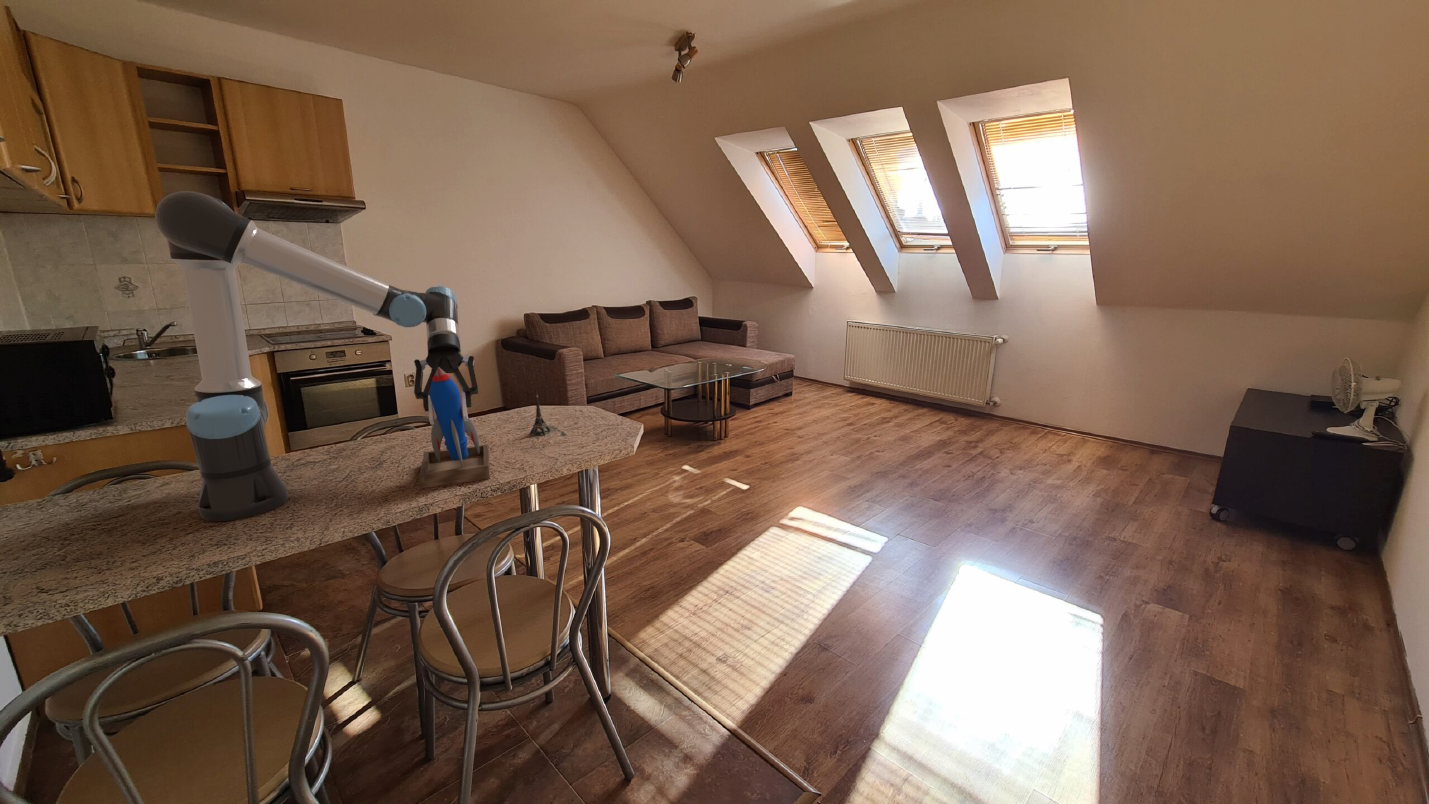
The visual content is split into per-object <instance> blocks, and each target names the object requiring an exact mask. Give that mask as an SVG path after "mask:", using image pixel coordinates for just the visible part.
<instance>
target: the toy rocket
mask: <svg viewBox="0 0 1429 804" xmlns="http://www.w3.org/2000/svg"><path fill="white" fill-rule="evenodd" d="M430 399H431V402H432V405H433V409H434V412H435V413H434V414H435V415H436V417H435V419H434V425H432V426H431V427H432V428H431V433H430V434H431V436H430V439H431V440H430V441H431V446H432V449H433V450H432V451H434V453H435V455H436V458H437V460H438V462H439V463H440V450H441V446H442V441H443V439H444V442H443V444H444V445H445V448H446V449H447V450H449V454H450V457H451V460H455V461H457V460H460V462H461V465H462V468H463V462H462V459H465V458H466V457H468V451H467V447H468V437H469V438H470V440H471V441H472V443H473V446H475V447H476V449H477V452H478V454H479V453H480V452H479V445H480V442H479V435H478V431H477V429H476V427H475V425H474V423H473V421H472V420H471V419H470V417H468V421H464V416H463V405H462V397H461V392H460V389H459V387H458V386H457V384H456V383H455V381H454V380H453V379H452V378H451V376H450V375H449V374H448V373H445V372H444V371H443V370H442V369H441V368H440V367H438V368H437V370H436V373H435V375H434V377H433V379H432V384H431V387H430ZM466 435H467V436H468V437H467V436H466Z"/></svg>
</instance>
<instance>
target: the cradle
mask: <svg viewBox="0 0 1429 804" xmlns="http://www.w3.org/2000/svg"><path fill="white" fill-rule="evenodd" d="M467 451H468V457H466V458H465V459H462V462H463V468H462V465H461V462H460V460H457V461H455V460H451V457H450V454H449V450H447V448H446V449H440V463H439V462H438V460H437V458H436V455H435V453H434V450H429V451H424V453H423V457H422V461H421V465H420V470H419V473H418V477H419V484H420V489H427V488H433V487H434V488H435V487H440V486H447V485H453V484H454V485H455V484H462V482H463V483H468V482H469V483H470V482H475V481H483V480H489V479H491V475H490V474H491V473H490V472H491V471H490V455H489V446H488V443H486V444H479V452H480V453H479V454H478V452H477V449H476V447H475V445H471V446H467Z"/></svg>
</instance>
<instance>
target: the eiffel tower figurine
mask: <svg viewBox="0 0 1429 804" xmlns="http://www.w3.org/2000/svg"><path fill="white" fill-rule="evenodd" d="M535 398H536V399H535V400H536V403H535V405H536V410H535V411H536V412H535V413H536V415H535V421H534V424H532V428H531V430H530V432H529V434H528V436H535V437H536V436H539V437H546V436H547V435H549V434H550V432H560V433H561V434H560V435H559V436H561V437H566V436H568V434H567V433H565V432H564V431H562V430H560V429H558V428H557V427H555V426H553V425H548V424H547V422H546V421H545V420H544V418H543V415H542V413H541V412H542V411H541V408H540V403H539V395H538V393H537V391H536V395H535ZM528 428H529V426H528V427H522V428H518V429H517V430H518V431H522V430H525V429H528Z"/></svg>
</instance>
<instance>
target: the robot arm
mask: <svg viewBox="0 0 1429 804" xmlns="http://www.w3.org/2000/svg"><path fill="white" fill-rule="evenodd" d="M154 215H155V222H156V227H157V228H158V230H159V232H160V233H161V234H162V235H163V236H164V238H166V239H167V245H168V252H169V255H170V260H171V261H172V262H173V263H175V264H176V265H178V266H179V267H180V268H181V269H182V275H183V279H184V285H185V290H186V297H187V301H188V302H187V303H188V307H189V313H190V319H191V324H192V330H193V336H194V340H195V347H196V352H197V356H198V357H197V359H198V364H199V369H200V375H201V380H200V382H199V383H198V384H197V385H195V387H194V393H195V399H196V402H195V403H192V405H190V406H189V407H188V408H187V410H186V412H185V419H186V420H185V425H186V427H187V430H188V431H189V435H190V438H191V443H192V445H193V450H194V453H195V458H196V461H197V465H198V469H199V471H200V476H201V480H202V481H201V487H200V492H199V498H198V504H197V505H198V512H199V515H200V518H201V519H202V520H204V521H207V522H230V521H237V520H241V519H247V518H251V517H255V516H258V515H261V514H265V513H268V512H269V511H272V510H274V509H277V508H279V506H282V505H283V504H284V503H286V502H287V501H288V499H289V490H288V487H287V485H286V483H285V482H284V481H283V479H282V478H281V477H280V476H279V474H278V472H277V471H276V469H275V468H274V466H273V465H272V462H271V457H270V452H269V447H268V443H267V440H266V439H267V438H266V435H265V433H266V431H265V430H266V429H265V428H266V425H267V422H268V418H269V409H268V406H267V404H266V401H265V399H264V393H263V384H262V382H261V381H260V380H259V379H257V378H256V377H254V376H253V375H252V369H251V363H250V355H249V350H248V344H247V343H248V342H247V336H246V331H245V325H244V318H243V312H242V306H241V298H240V292H239V286H238V281H237V280H238V279H237V272H236V269H237V267H239V266H240V265H241V264H242V263H243V264H246V265H248V266H250V267H253V268H256V269H259V270H261V271H262V272H263V271H264V272H266V273H268V274H271V275H274V276H275V277H279V278H281V279H283V280H286V281H290V282H291V283H293V284H296V285H299V286H302V287H304V288H307V289H309V290H312V291H314V292H317V293H319V294H322V295H325V296H327V297H329V298H332V299H334V300H335V299H336V300H337V301H341V302H343V303H345V304H348V305H350V306H353V307H355V308H359V309H360V310H364V311H366V312H368V313H371V314H372V315H373V316H374V317H378V318H382V319H385V320H388V321H391V322H393V323H394V324H396V325H398V326H399V327H403V328H414V327H418V326H419V325H421V324H422V323H425V324H426V326H425V327H426V340H427V343H426V345H427V356H426V358H425V359H421V360H420V359H415V360H414V361H413V362H414V363H413V364H414V366H415V375H414V376H415V378H414V379H415V380H414V390H413V393H414V396H415V398H416V399H417V400H422V402H423V403H422V405H423V410H424V412H428V420H429V423H430V425H431V426H433V425H434V421H435V415H434V414H435V413H434V412H435V410H434V407H433V405H432V402H431V399H430V387H431V384H432V379H433V377H434V375H435V373H436V370H437V368H438V367H440V368H441V369H442V370H443V371H444V372H445V373H446V374H453V376H454V377H455V379H456V381H457V383H458V384H459V387H460V388H461V390H462V392H461V405H462V413H463V416H464V421H468V418H469V416H468V408H471V407H472V405H473V404H472V396H473V395H479V387H478V382H477V377H476V374H475V373H476V372H475V369H474V367H475V358H474V356H473V355H470V356H469V357H467V356H466V357H465V356H463V355H462V349H461V340H460V329H459V328H460V327H459V317H458V308H459V306H458V302H457V297H456V294H455V292H454V290H452V289H451V288H449V287H447V286H443V285H442V286H441V285H438V286H431V287H429V288H428V289H426V290H425V292H418V291H411V290H407V289H406V290H405V289H402V288H401V289H400V288H399V287H395V286H392V285H390V284H389V283H386V282H384V281H381V280H380V279H377V278H375V277H373V276H370V275H367V274H365V273H363V272H361V271H359V270H356V269H354V268H351V267H349V266H346V265H344V264H342V263H340V262H338V261H334V260H333V259H330V258H328V257H326V256H323V255H321V254H320V253H319V254H318V253H316V252H314V251H312V250H309V249H307V248H304V247H302V246H300V245H298V244H295V243H293V242H291V241H288V240H286V239H284V238H282V237H279V236H277V235H274V234H272V233H270V232H267V231H265V230H264V229H260V228H258V227H257V225H256V223H255V221H254V220H252V219H250V218H248V217H245V216H243V215H241V214H239V213H237V212H235V211H233V210H232V208H230V207H229V206H228V204H227V203H224V202H223V201H221V199H219V198H216V197H214V196H212V195H209V194H205V193H201V192H199V191H198V192H197V191H193V190H191V191H190V190H189V191H188V190H182V191H177V192H173V193H169V194H168V195H166V196H165V197H163V199H161V200H160V201H159V203H158V204H157V205H156V209H155V214H154ZM463 363H464V366H465V367H467V369H468V376H469V378H470V379H469V380H470V384H471V387H469V385H468V383H467V382H466V380H465V378H464V376H463V374H462V372H461V371H460V369H459V368H460V366H461V365H462V364H463ZM426 366H429V367H430V368H431V369H430V370H431V371H430V373H429V375H428V376H429V377H428V379H427V382H426V384H425V386H424V389H423V381H424V370H425V369H426Z"/></svg>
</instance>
